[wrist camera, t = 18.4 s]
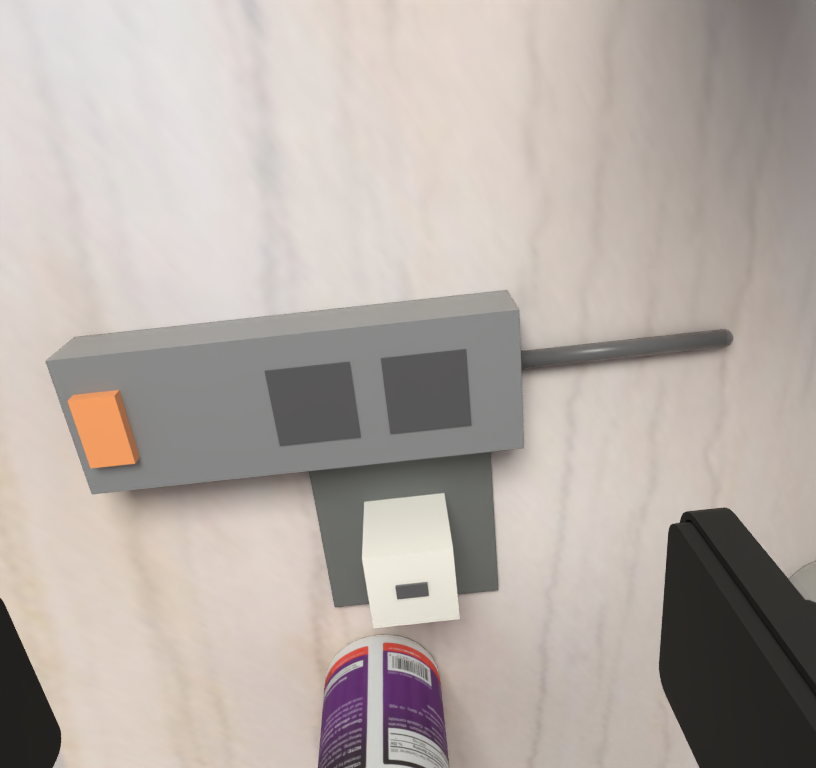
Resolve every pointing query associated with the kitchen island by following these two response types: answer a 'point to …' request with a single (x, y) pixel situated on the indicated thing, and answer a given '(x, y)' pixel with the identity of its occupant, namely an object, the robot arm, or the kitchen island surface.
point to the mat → (352, 486)
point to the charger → (409, 561)
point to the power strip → (310, 389)
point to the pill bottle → (383, 707)
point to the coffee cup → (806, 581)
